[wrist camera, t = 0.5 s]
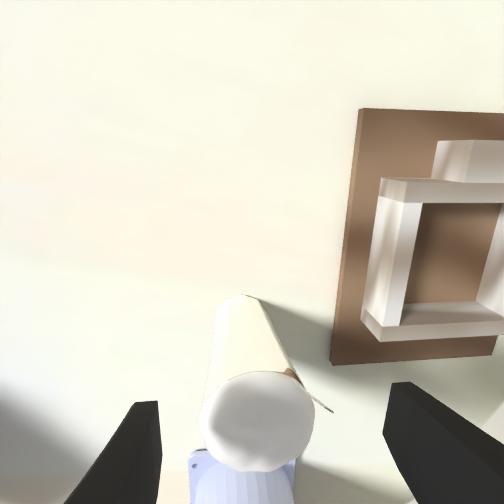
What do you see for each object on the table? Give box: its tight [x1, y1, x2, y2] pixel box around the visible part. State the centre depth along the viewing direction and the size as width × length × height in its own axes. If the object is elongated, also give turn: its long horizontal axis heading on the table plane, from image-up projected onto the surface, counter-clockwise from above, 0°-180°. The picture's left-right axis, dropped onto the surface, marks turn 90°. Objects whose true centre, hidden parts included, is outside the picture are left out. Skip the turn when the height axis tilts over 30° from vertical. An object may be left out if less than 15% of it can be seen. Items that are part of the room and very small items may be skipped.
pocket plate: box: [330, 108, 504, 366], centre depth 18 cm, size 16×12×3 cm
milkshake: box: [199, 295, 334, 472], centre depth 15 cm, size 4×5×10 cm
